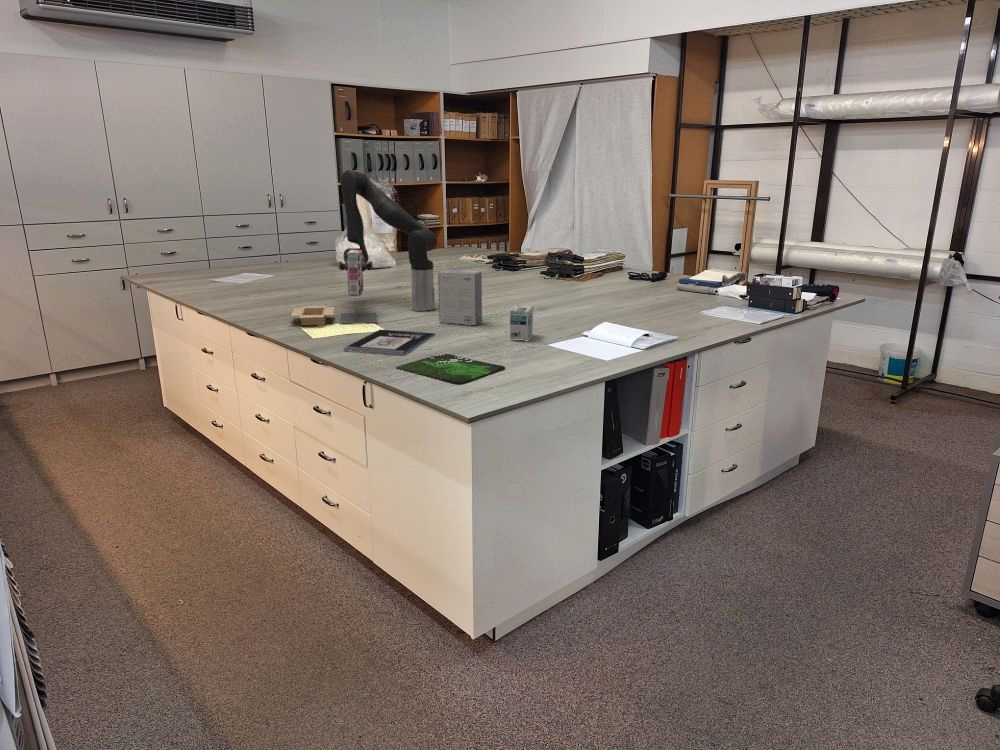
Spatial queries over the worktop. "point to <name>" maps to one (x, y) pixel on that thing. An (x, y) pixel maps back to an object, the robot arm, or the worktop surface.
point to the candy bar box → (355, 272)
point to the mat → (358, 318)
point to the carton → (313, 314)
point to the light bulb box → (521, 322)
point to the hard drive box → (460, 297)
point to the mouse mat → (451, 369)
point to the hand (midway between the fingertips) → (355, 268)
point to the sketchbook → (390, 342)
